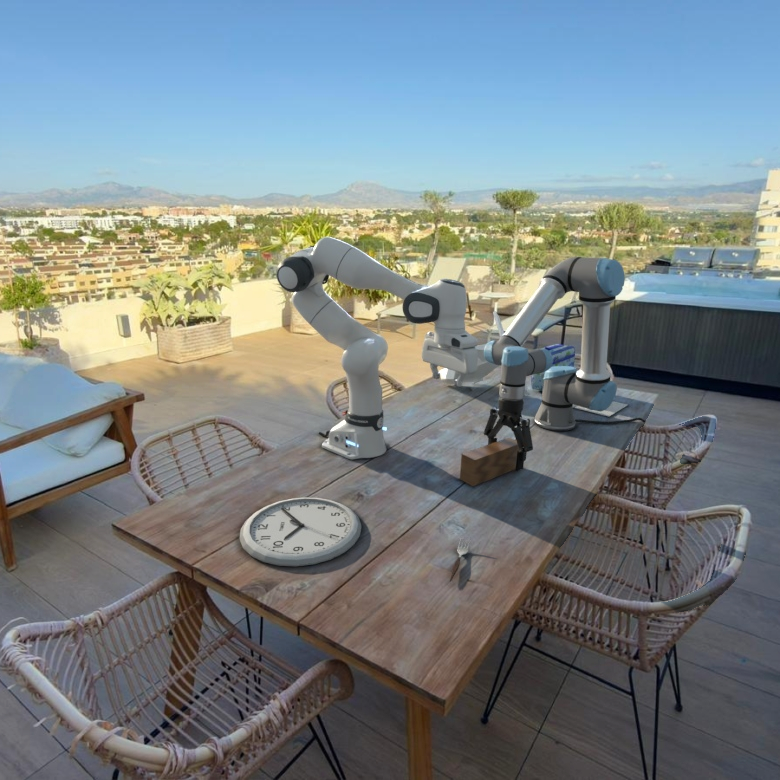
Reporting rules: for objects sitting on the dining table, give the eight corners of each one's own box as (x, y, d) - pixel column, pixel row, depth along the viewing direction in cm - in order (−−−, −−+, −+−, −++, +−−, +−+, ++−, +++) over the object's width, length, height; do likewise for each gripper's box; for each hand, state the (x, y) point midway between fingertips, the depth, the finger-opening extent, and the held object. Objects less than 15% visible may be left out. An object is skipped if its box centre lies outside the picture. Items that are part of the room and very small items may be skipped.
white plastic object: (461, 429, 252) (437, 405, 227) (444, 352, 274) (420, 323, 250) (535, 404, 240) (518, 377, 215) (510, 326, 262) (492, 293, 237)
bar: (506, 461, 172) (508, 437, 169) (519, 467, 168) (522, 442, 165) (459, 479, 159) (461, 453, 156) (473, 486, 155) (475, 460, 152)
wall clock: (363, 557, 118) (227, 562, 115) (363, 563, 118) (227, 568, 115) (359, 492, 146) (250, 495, 143) (359, 498, 147) (250, 500, 144)
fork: (443, 582, 112) (444, 574, 112) (460, 542, 127) (460, 535, 126) (455, 584, 112) (456, 576, 111) (471, 544, 126) (471, 537, 125)
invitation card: (608, 416, 214) (573, 407, 224) (608, 416, 214) (573, 408, 224) (628, 404, 229) (594, 396, 238) (628, 405, 229) (594, 397, 238)
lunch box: (547, 396, 238) (552, 351, 232) (526, 391, 246) (531, 347, 239) (574, 385, 256) (579, 343, 250) (554, 380, 263) (559, 340, 257)
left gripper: (417, 331, 158) (416, 375, 162) (466, 344, 142) (463, 392, 147) (433, 329, 161) (431, 372, 166) (482, 341, 146) (479, 388, 150)
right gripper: (475, 390, 166) (470, 454, 173) (534, 409, 149) (527, 479, 156) (491, 386, 171) (486, 448, 177) (550, 405, 154) (542, 473, 160)
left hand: (446, 382), depth 156 cm, fingers open, 8 cm apart
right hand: (505, 463), depth 167 cm, fingers open, 10 cm apart
